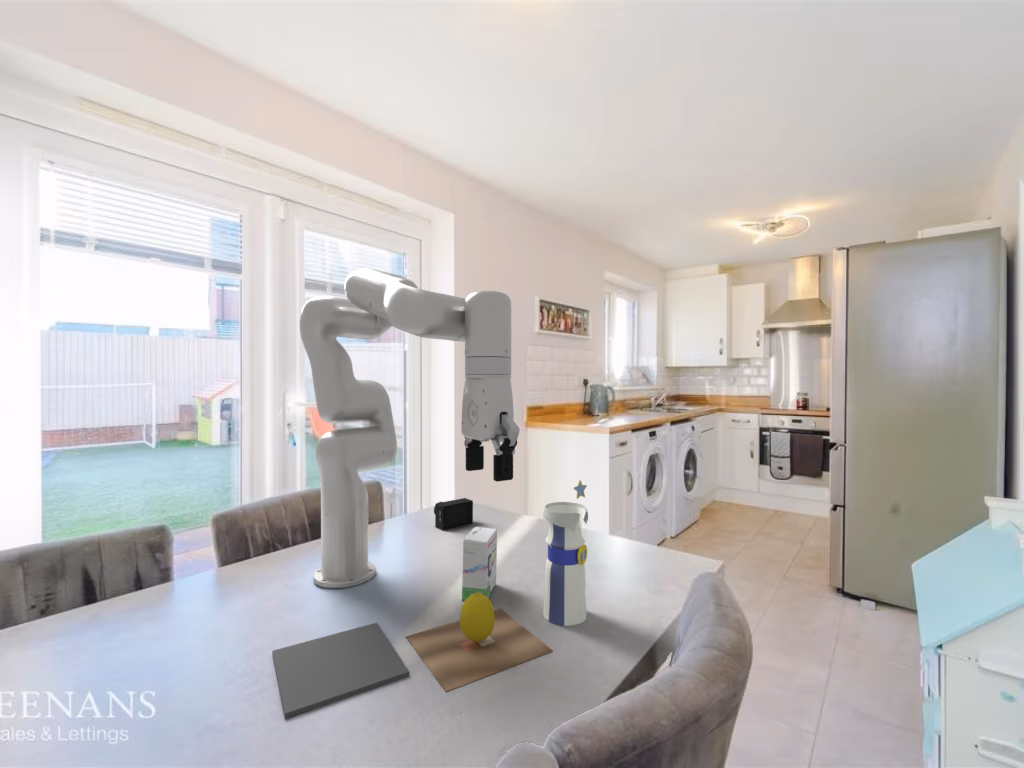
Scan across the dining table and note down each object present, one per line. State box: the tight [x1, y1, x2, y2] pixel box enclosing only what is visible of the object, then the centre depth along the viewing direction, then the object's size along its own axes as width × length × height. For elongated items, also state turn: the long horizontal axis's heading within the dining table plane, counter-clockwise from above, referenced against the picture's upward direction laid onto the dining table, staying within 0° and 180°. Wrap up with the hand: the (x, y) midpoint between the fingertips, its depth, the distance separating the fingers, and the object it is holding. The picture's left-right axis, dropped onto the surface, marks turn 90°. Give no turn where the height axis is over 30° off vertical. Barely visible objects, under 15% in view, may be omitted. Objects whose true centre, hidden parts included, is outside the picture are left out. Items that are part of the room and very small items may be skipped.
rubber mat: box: [271, 622, 410, 719], centre depth 69 cm, size 16×16×1 cm
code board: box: [405, 608, 554, 693], centre depth 75 cm, size 16×18×1 cm
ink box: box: [461, 526, 498, 601], centre depth 93 cm, size 9×5×12 cm, turn 168°
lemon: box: [459, 592, 495, 643], centre depth 75 cm, size 6×6×8 cm
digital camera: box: [433, 497, 474, 532], centre depth 137 cm, size 10×5×7 cm, turn 131°
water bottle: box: [542, 479, 589, 627], centre depth 84 cm, size 8×9×25 cm
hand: (488, 474), depth 76 cm, fingers open, 9 cm apart
